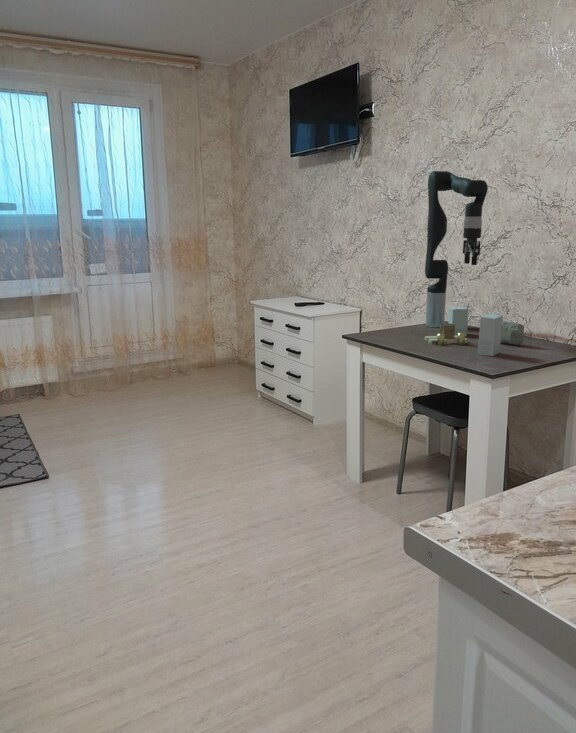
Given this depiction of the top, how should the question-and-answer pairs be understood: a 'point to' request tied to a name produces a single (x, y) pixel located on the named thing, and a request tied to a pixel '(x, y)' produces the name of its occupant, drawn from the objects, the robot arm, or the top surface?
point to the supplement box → (459, 319)
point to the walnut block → (447, 330)
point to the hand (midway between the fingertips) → (470, 264)
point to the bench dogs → (442, 336)
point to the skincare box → (490, 334)
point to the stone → (512, 333)
